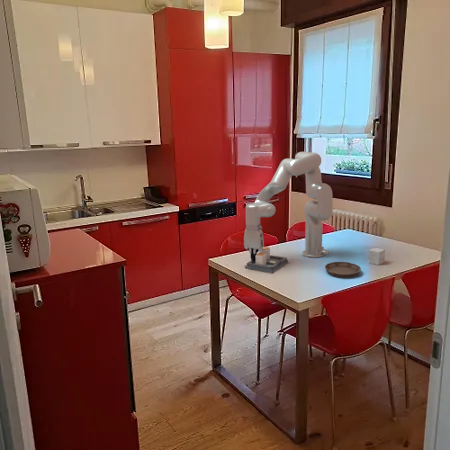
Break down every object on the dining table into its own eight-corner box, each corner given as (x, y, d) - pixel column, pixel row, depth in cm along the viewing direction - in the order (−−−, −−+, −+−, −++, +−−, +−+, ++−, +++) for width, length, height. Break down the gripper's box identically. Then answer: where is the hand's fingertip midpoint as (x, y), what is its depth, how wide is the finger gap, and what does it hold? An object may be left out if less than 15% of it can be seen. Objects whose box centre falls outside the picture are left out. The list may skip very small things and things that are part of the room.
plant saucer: (361, 280, 210) (361, 274, 209) (323, 278, 215) (323, 272, 214) (360, 268, 226) (360, 262, 226) (325, 266, 231) (325, 260, 230)
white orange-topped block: (270, 258, 241) (269, 247, 240) (266, 260, 238) (266, 249, 236) (263, 257, 244) (263, 246, 242) (259, 259, 240) (259, 248, 238)
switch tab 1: (266, 264, 232) (266, 253, 230) (262, 266, 228) (262, 255, 226) (259, 263, 234) (259, 252, 232) (255, 265, 230) (255, 254, 229)
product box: (384, 262, 233) (385, 249, 231) (378, 265, 229) (379, 252, 227) (374, 260, 237) (374, 247, 236) (368, 262, 233) (368, 249, 232)
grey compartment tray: (288, 262, 239) (288, 257, 238) (272, 273, 222) (271, 267, 222) (262, 258, 247) (262, 253, 246) (245, 268, 231) (245, 263, 230)
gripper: (269, 227, 227) (269, 260, 232) (244, 224, 236) (245, 256, 240) (262, 230, 221) (262, 264, 226) (237, 227, 229) (238, 260, 234)
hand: (253, 260), depth 233 cm, fingers closed
